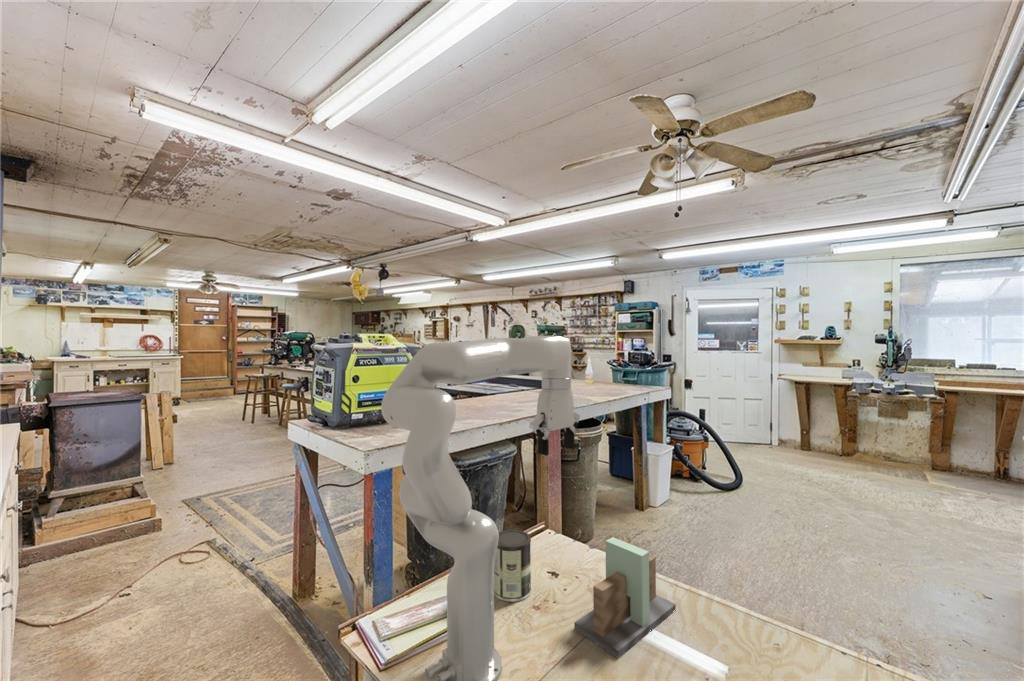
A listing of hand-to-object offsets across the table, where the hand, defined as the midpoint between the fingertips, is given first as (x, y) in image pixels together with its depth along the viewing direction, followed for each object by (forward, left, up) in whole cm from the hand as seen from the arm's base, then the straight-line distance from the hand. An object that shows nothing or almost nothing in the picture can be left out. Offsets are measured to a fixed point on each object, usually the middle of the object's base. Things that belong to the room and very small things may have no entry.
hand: (556, 451), depth 107 cm
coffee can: (-6, +11, -38) cm, 40 cm away
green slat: (+7, -16, -37) cm, 41 cm away
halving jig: (+7, -16, -38) cm, 42 cm away
